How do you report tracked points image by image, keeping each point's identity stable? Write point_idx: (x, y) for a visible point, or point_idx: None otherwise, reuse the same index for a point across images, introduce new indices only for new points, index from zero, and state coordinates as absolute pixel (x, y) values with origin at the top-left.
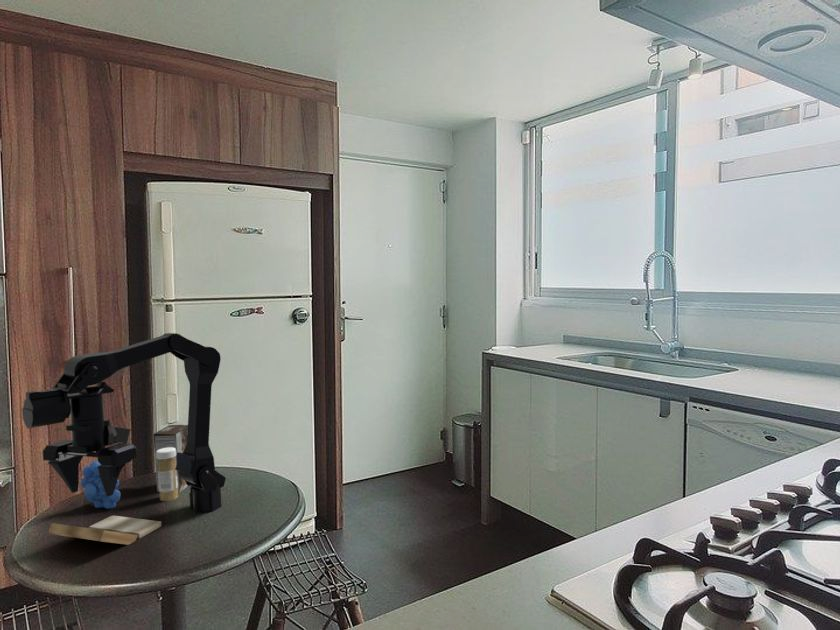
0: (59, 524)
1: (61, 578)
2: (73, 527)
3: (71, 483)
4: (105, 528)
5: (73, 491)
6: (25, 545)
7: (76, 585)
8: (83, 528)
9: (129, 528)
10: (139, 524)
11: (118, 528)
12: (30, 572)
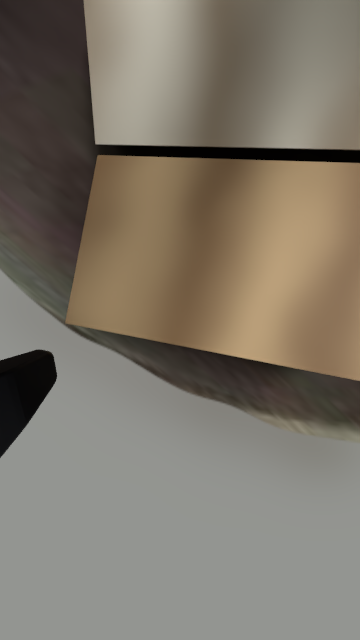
0: (103, 330)
1: (271, 399)
2: (177, 344)
3: (5, 430)
4: (178, 142)
5: (50, 383)
6: (3, 249)
7: (348, 430)
8: (232, 355)
9: (299, 108)
10: (326, 43)
11: (239, 125)
12: (161, 373)
